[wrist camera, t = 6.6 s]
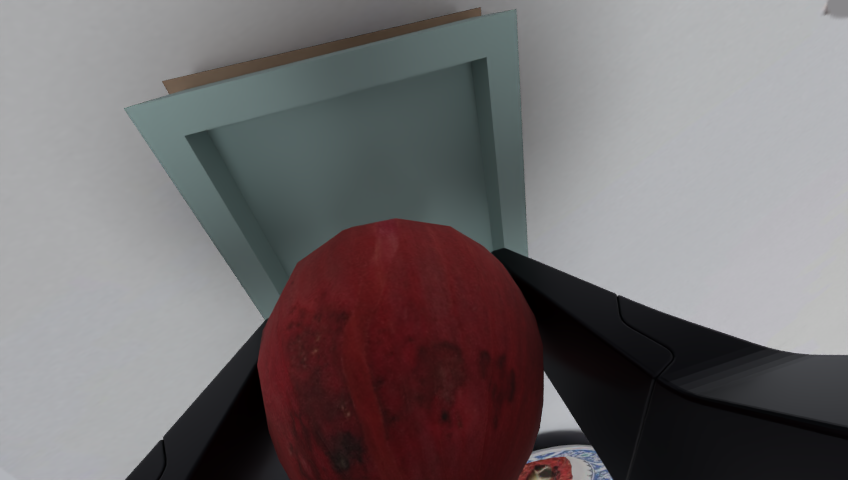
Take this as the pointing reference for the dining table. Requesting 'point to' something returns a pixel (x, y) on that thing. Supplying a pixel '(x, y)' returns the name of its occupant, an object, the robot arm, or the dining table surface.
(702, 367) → the robot arm
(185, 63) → the dining table surface
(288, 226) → the top block
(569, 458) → the ceramic plate
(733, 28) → the dining table surface
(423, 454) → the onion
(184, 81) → the bottom block
